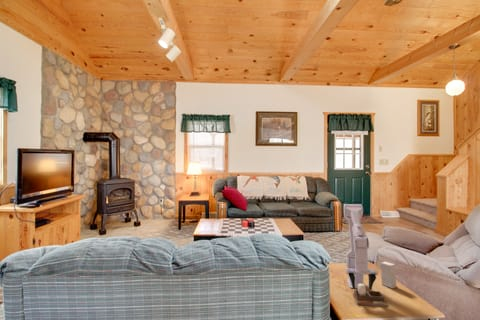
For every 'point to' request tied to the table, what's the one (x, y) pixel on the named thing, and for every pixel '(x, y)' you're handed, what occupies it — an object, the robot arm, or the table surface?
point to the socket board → (370, 298)
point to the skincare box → (388, 274)
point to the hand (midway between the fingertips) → (361, 288)
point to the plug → (361, 289)
